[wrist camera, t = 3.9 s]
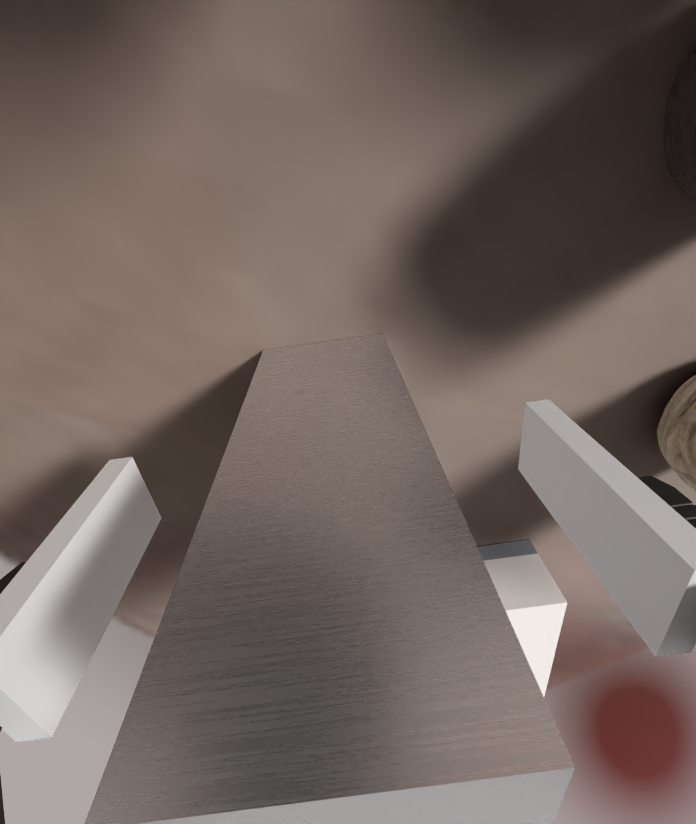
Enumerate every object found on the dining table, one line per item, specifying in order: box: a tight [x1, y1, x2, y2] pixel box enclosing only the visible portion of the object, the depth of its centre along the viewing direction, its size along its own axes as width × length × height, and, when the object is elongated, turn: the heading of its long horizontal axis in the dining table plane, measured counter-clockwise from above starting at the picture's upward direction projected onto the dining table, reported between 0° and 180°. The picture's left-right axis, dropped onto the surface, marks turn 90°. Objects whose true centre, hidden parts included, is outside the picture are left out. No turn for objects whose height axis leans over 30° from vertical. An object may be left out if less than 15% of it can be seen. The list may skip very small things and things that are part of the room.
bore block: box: [478, 540, 567, 697], centre depth 24 cm, size 12×12×4 cm
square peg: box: [85, 334, 575, 824], centre depth 11 cm, size 5×5×14 cm
